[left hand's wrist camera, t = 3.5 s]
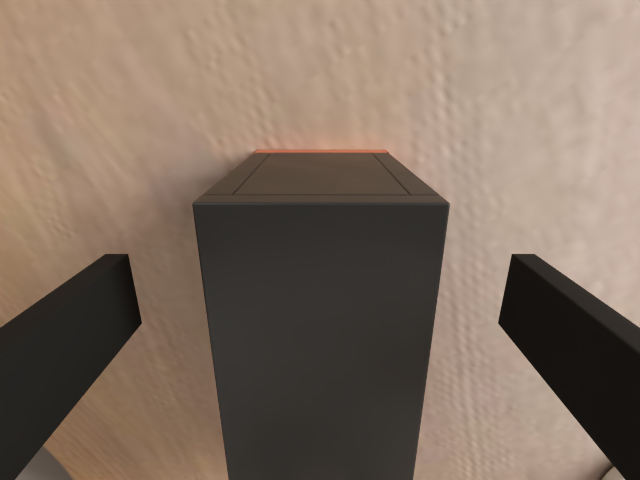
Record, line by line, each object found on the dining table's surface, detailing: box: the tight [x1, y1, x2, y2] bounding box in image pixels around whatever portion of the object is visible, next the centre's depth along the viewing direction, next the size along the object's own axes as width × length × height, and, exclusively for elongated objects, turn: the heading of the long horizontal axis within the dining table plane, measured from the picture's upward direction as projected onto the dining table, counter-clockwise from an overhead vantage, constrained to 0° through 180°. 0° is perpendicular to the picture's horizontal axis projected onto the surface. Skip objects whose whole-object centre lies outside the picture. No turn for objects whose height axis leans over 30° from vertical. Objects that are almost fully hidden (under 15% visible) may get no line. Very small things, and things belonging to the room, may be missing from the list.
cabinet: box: [192, 150, 450, 480], centre depth 18 cm, size 16×7×11 cm, turn 0°
